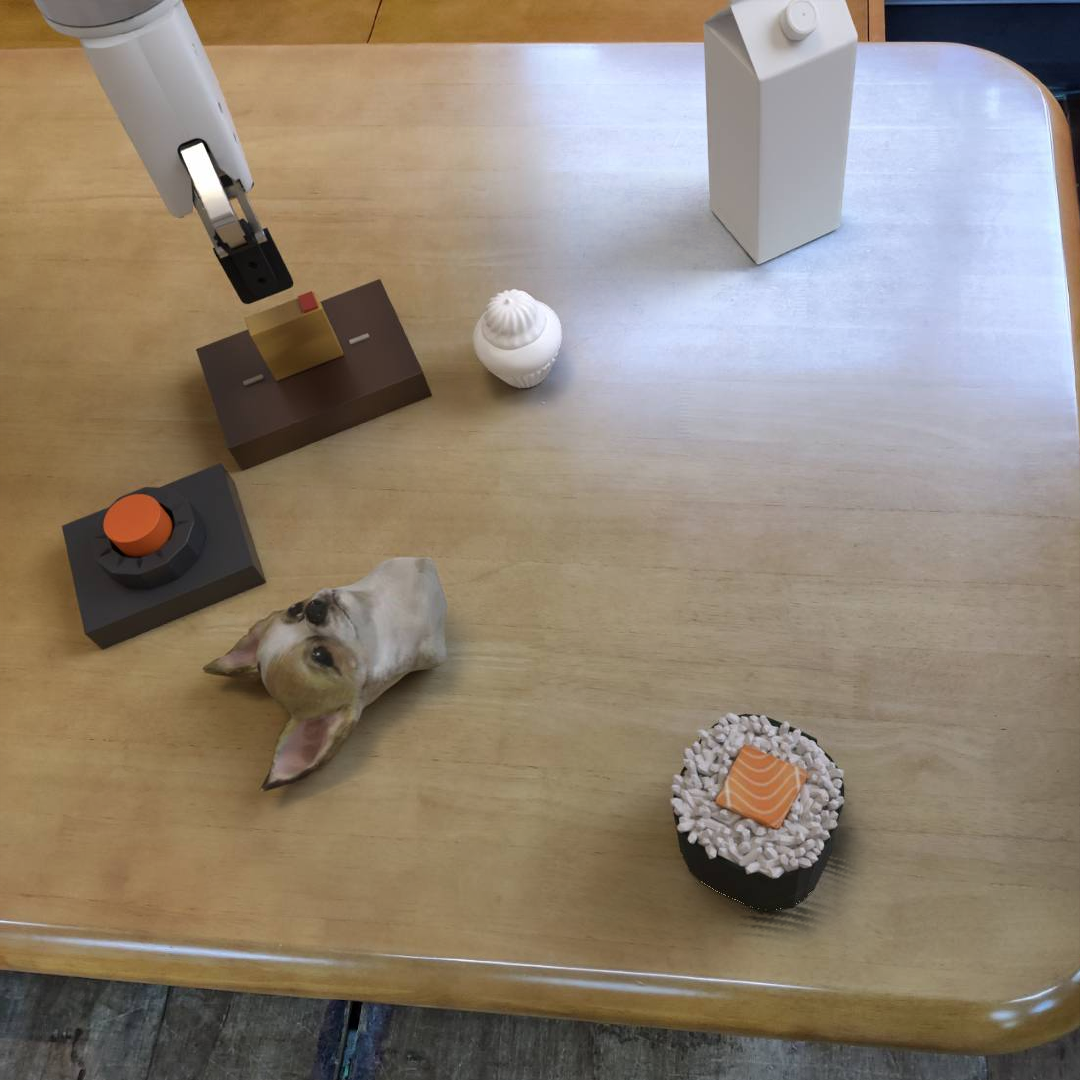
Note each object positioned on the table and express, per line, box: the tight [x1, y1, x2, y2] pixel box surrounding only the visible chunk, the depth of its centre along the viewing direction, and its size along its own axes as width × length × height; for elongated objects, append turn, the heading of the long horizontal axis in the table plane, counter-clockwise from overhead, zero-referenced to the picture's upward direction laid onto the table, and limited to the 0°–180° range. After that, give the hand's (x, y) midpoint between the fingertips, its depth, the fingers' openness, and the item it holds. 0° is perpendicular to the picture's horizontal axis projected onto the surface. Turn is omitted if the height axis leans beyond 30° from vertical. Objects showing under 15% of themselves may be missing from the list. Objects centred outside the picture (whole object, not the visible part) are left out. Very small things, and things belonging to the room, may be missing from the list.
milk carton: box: [702, 0, 859, 265], centre depth 74 cm, size 7×7×19 cm
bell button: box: [103, 494, 173, 557], centre depth 69 cm, size 4×4×2 cm
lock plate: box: [195, 278, 432, 472], centre depth 78 cm, size 14×10×3 cm
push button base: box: [61, 462, 267, 651], centre depth 71 cm, size 11×9×4 cm
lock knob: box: [244, 290, 344, 381], centre depth 75 cm, size 5×2×5 cm, turn 114°
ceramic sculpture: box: [202, 555, 448, 793], centre depth 64 cm, size 11×9×15 cm
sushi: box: [669, 712, 845, 913], centre depth 57 cm, size 8×8×8 cm
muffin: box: [472, 288, 563, 389], centre depth 75 cm, size 6×6×7 cm
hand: (249, 241), depth 67 cm, fingers open, 9 cm apart
